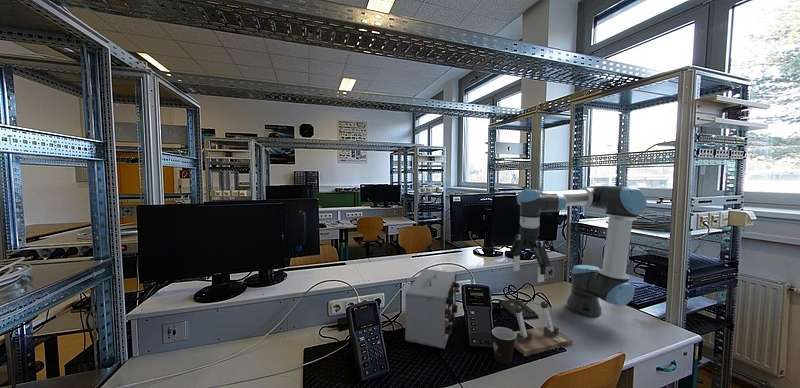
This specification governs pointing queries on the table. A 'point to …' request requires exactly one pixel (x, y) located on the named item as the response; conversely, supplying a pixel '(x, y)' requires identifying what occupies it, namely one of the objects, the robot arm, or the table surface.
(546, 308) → the lever
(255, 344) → the table surface
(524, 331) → the lever
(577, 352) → the table surface
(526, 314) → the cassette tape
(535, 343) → the switch base
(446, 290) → the vintage electronic device
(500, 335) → the coffee mug
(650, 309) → the table surface
